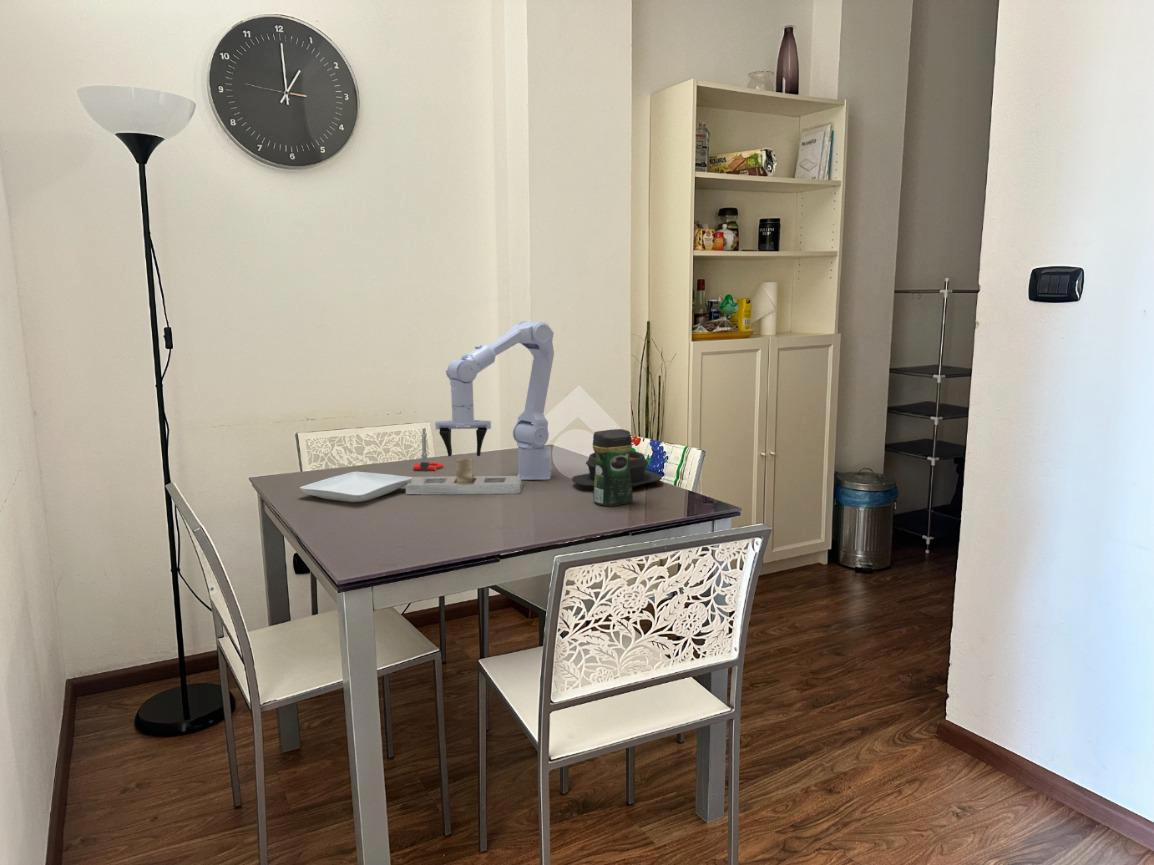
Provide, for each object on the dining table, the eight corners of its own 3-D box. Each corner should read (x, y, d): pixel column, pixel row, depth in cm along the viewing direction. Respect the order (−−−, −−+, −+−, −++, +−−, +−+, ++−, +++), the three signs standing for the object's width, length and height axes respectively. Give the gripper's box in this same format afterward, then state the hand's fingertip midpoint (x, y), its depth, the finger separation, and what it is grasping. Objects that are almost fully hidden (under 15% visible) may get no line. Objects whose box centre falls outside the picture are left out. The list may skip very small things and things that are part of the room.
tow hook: (419, 466, 254) (410, 471, 245) (418, 424, 252) (409, 428, 243) (446, 466, 253) (437, 471, 244) (445, 424, 251) (436, 428, 242)
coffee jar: (622, 496, 212) (622, 425, 209) (637, 503, 205) (637, 430, 202) (588, 501, 208) (587, 428, 205) (602, 508, 201) (602, 433, 198)
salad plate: (297, 498, 213) (297, 486, 212) (355, 481, 231) (354, 469, 231) (360, 507, 203) (359, 494, 203) (415, 489, 222) (414, 476, 221)
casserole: (582, 496, 213) (581, 464, 212) (564, 480, 231) (564, 451, 229) (672, 489, 219) (672, 458, 218) (648, 474, 237) (648, 446, 236)
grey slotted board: (522, 484, 226) (522, 475, 226) (519, 493, 216) (519, 484, 216) (413, 485, 226) (413, 476, 226) (406, 494, 216) (405, 485, 216)
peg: (473, 487, 223) (473, 458, 222) (472, 491, 219) (471, 461, 218) (459, 487, 223) (458, 458, 222) (457, 491, 219) (456, 462, 218)
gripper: (432, 407, 213) (434, 458, 216) (488, 407, 213) (489, 458, 216) (437, 403, 220) (439, 453, 223) (491, 403, 220) (492, 452, 223)
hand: (464, 455), depth 220 cm, fingers open, 7 cm apart
